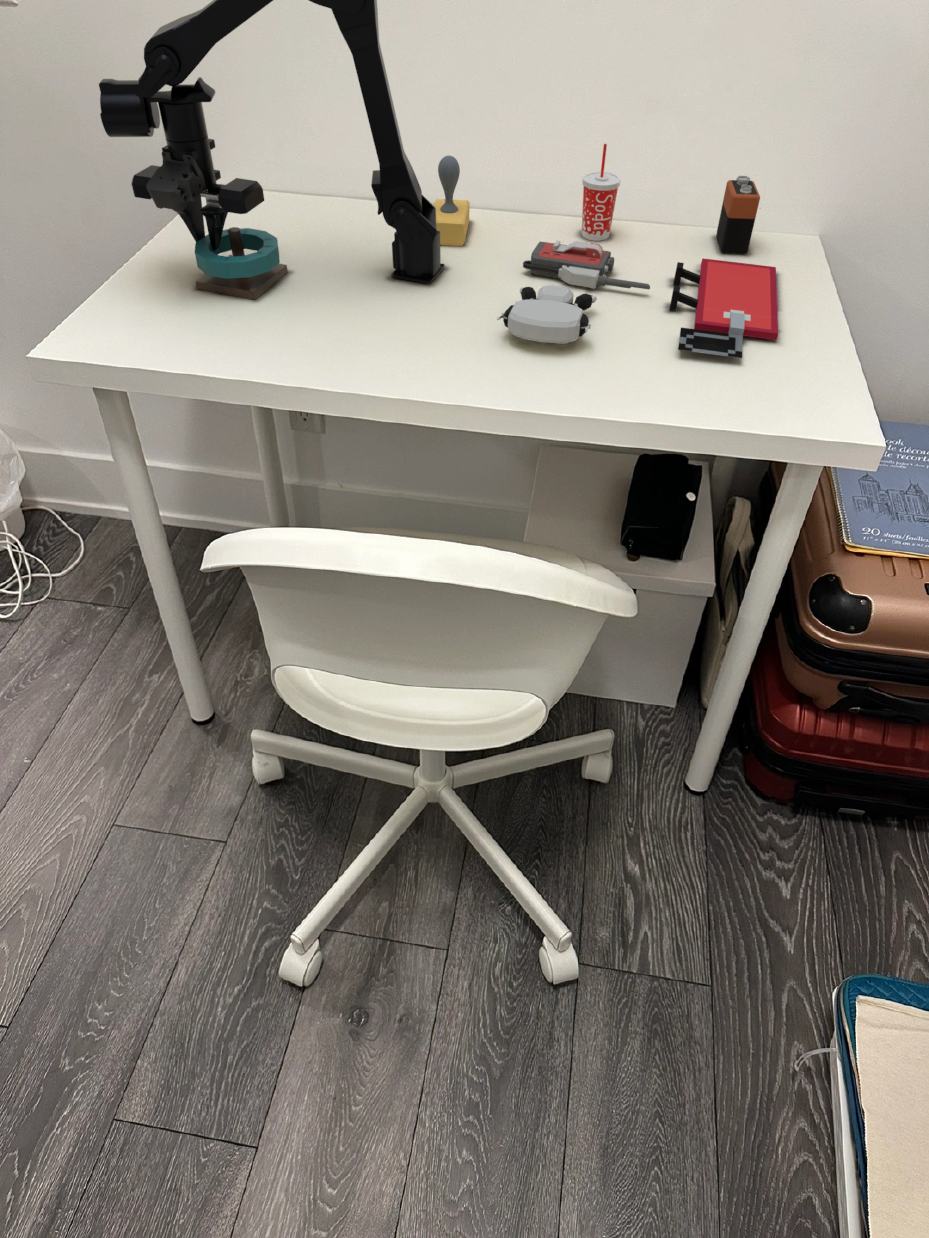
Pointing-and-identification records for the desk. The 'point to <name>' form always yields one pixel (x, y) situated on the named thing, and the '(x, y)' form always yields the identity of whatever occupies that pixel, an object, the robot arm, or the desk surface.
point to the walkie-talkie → (576, 264)
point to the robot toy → (548, 315)
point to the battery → (737, 215)
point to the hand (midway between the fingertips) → (209, 248)
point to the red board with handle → (728, 306)
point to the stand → (241, 286)
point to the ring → (238, 264)
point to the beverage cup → (599, 202)
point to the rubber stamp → (451, 206)
